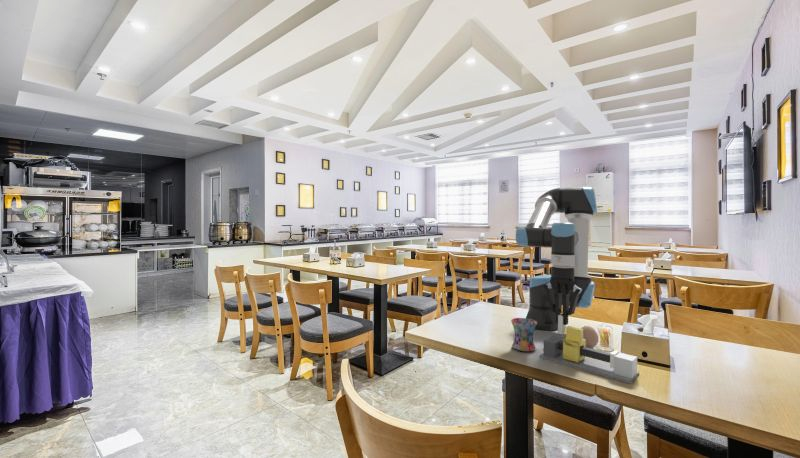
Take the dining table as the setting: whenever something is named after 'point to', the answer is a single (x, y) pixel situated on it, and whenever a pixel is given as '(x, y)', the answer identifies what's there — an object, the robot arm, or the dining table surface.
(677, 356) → the dining table surface
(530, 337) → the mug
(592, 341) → the egg
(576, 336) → the yellow block
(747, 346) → the dining table surface
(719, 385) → the dining table surface
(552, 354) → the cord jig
